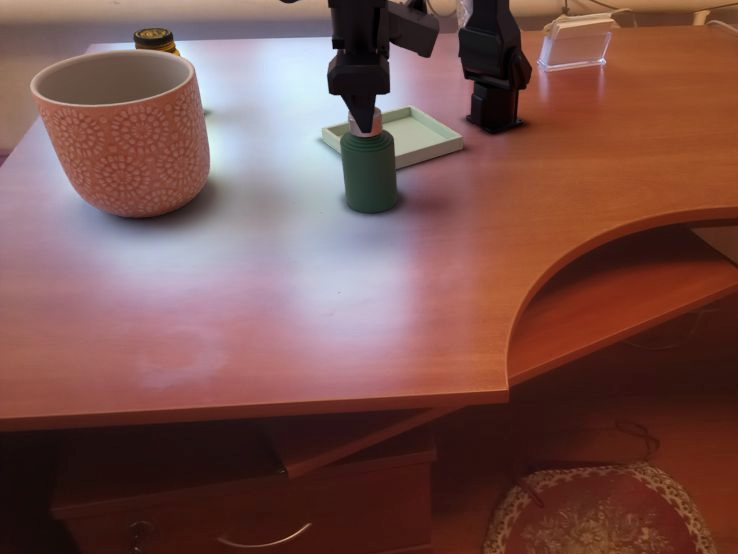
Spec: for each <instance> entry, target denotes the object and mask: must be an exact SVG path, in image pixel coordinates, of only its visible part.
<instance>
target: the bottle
mask: <svg viewBox="0 0 738 554" xmlns="http://www.w3.org/2000/svg"><path fill="white" fill-rule="evenodd" d="M340 148H341V154H340V157H341V165H342V175H343V182H344V192H345V199H346V204H347V206H348V207H349V208H351V209H352V210H354V211H356V212H360V213H363V214H364V213H365V214H376V213H382V212H386V211H388V210H390V209H392V208H393V207H395V205H396V204H397V203H398V183H397V169H396V163H395V145H394V137H393V136H392V135H391V134H390V133H389V132H388V131H386V130H384V129H382V132H381V133H380V134H378V135H376V136H372V137H358V136H355V135H353V134H352V133H351V132H350V131H348V132H346V133H345V134H344V135H343V136H342V137H341V139H340Z"/></svg>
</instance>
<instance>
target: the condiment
mask: <svg viewBox="0 0 738 554" xmlns="http://www.w3.org/2000/svg"><path fill="white" fill-rule="evenodd" d="M132 36H133V37H132V39H133V43H134V49H143V50H156V51H163V52H168V53H172V54H175V55H178V56H181V53H180V51H179V49H178V48H177V45H176V43H175V38H174V34H173V32H172V31H171V30H170V29H168V28H165V27H146V28H143V29H139V30H137V31H135V32H134V33H133V35H132ZM203 112H204V114H206V111H205V110H203Z"/></svg>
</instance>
